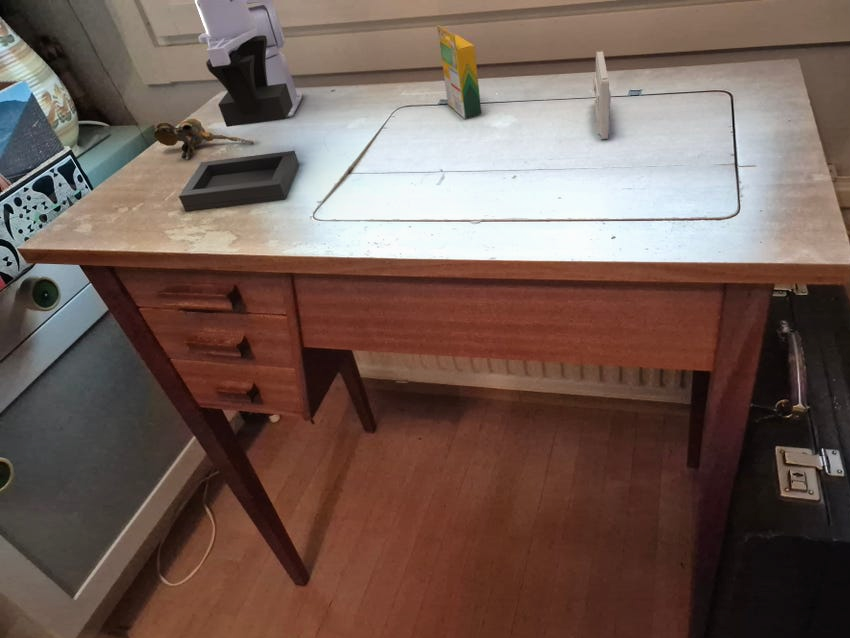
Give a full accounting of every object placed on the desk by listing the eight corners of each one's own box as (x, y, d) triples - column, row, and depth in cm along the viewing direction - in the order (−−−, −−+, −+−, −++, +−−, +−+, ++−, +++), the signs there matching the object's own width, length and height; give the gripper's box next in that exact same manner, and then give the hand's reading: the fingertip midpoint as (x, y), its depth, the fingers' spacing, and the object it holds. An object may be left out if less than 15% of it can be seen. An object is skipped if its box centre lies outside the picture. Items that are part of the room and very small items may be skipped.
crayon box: (483, 114, 98) (473, 30, 90) (464, 119, 97) (453, 35, 90) (465, 100, 103) (454, 19, 96) (447, 104, 102) (435, 24, 95)
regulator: (262, 138, 103) (168, 129, 103) (255, 118, 99) (158, 109, 100) (249, 173, 99) (152, 164, 100) (241, 154, 96) (140, 144, 96)
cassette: (611, 139, 86) (612, 79, 81) (597, 140, 86) (597, 81, 81) (605, 105, 95) (606, 49, 90) (592, 106, 95) (592, 50, 90)
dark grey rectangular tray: (207, 176, 93) (201, 161, 91) (299, 165, 92) (294, 150, 90) (185, 211, 85) (178, 195, 84) (285, 199, 84) (279, 183, 83)
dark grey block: (293, 105, 90) (286, 82, 88) (285, 119, 86) (278, 96, 84) (236, 112, 90) (228, 90, 88) (226, 127, 86) (217, 104, 84)
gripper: (202, -18, 84) (240, 90, 93) (164, 11, 73) (211, 130, 82) (256, -26, 83) (289, 83, 92) (226, 2, 73) (266, 123, 81)
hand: (256, 105), depth 87 cm, fingers closed on dark grey block, 5 cm apart
